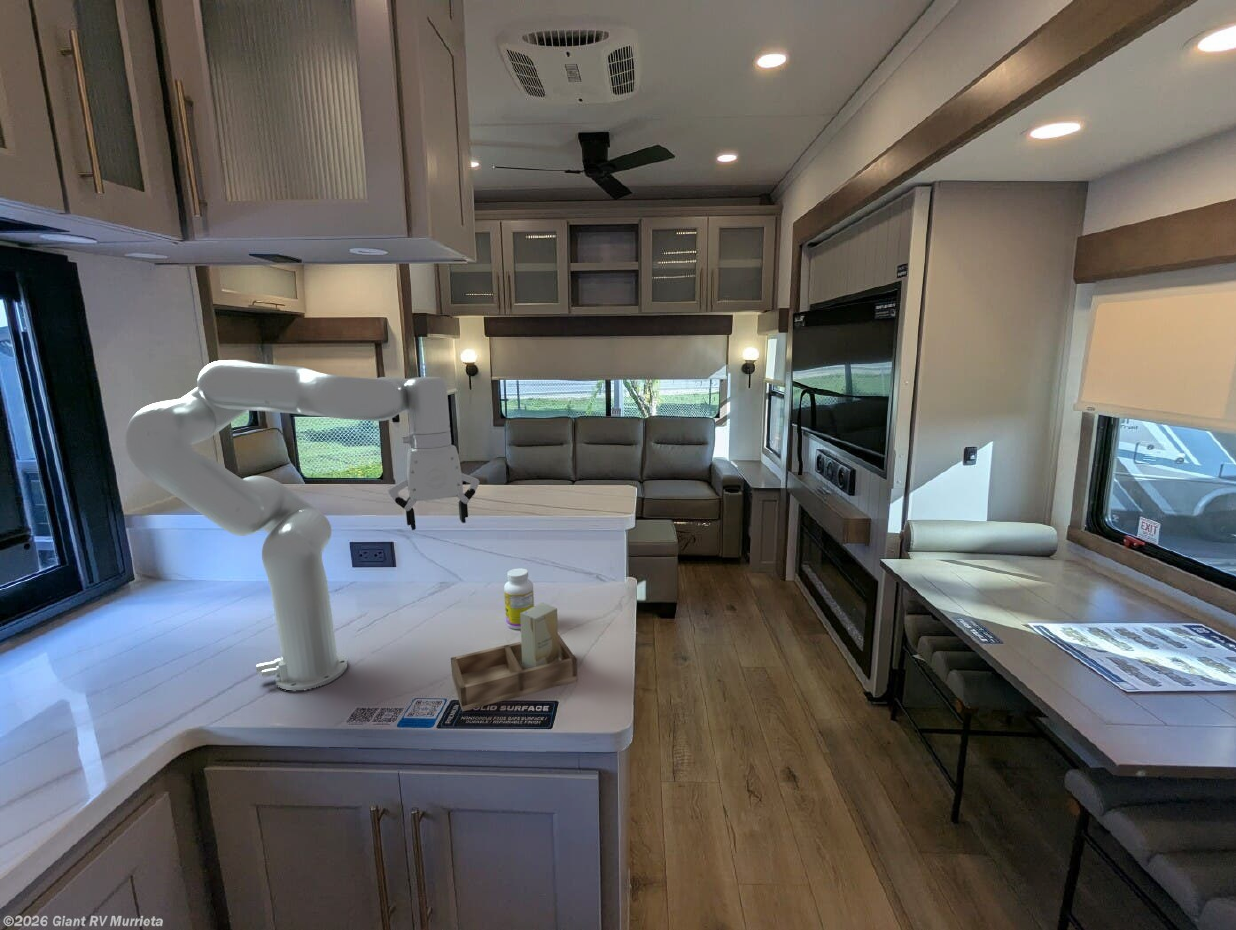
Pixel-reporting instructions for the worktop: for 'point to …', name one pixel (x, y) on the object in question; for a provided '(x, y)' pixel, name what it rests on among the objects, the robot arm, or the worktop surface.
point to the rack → (507, 674)
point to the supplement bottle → (517, 596)
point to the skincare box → (539, 636)
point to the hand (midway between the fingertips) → (438, 524)
